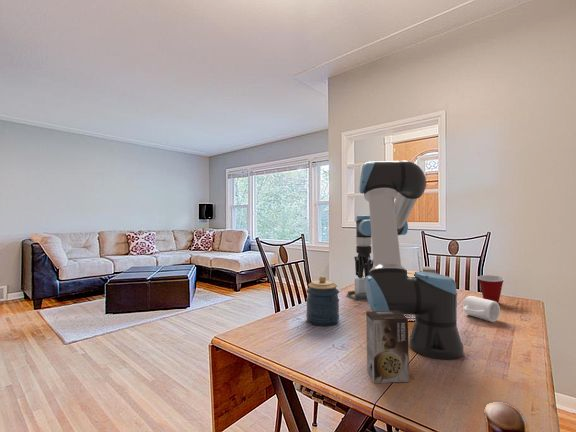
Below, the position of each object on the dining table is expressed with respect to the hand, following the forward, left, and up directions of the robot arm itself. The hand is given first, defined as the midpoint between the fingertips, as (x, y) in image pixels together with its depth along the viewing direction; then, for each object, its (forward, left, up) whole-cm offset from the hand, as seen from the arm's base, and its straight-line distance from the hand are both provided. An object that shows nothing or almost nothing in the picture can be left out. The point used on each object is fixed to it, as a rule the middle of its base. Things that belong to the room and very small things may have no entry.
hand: (364, 290), depth 156 cm
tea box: (+25, -11, -3) cm, 27 cm away
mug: (+21, -46, -3) cm, 51 cm away
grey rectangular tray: (0, 0, -3) cm, 3 cm away
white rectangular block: (0, 0, -2) cm, 2 cm away
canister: (-37, -23, -3) cm, 44 cm away
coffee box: (-42, -66, -3) cm, 78 cm away
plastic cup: (+48, -33, -3) cm, 58 cm away
